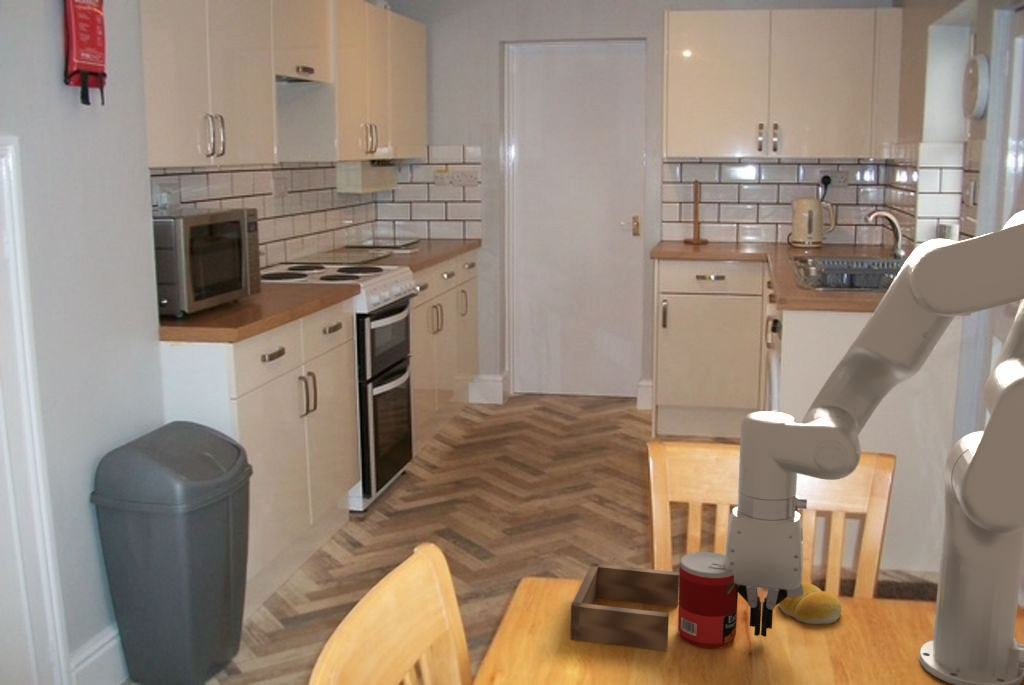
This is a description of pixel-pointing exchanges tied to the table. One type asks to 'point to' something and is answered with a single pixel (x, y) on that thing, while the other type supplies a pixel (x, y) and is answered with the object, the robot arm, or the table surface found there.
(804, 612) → the bread roll
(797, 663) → the table surface
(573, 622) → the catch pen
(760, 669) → the table surface
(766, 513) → the robot arm
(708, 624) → the canned food
